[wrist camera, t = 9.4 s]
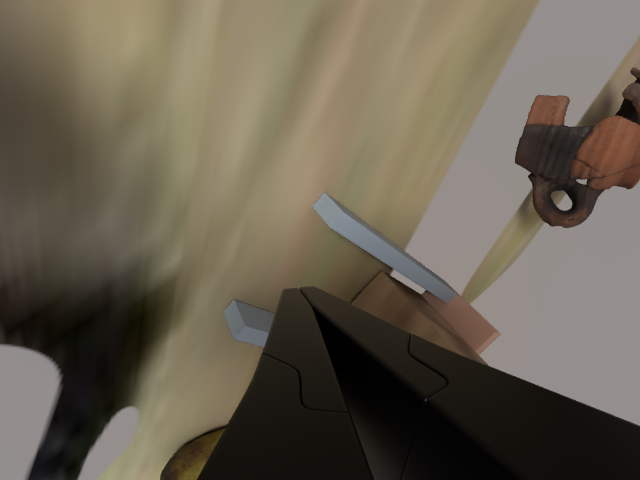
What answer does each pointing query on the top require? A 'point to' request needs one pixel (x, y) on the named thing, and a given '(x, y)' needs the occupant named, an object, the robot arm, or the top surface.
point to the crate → (411, 314)
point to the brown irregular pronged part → (579, 155)
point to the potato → (191, 458)
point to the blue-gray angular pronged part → (445, 300)
